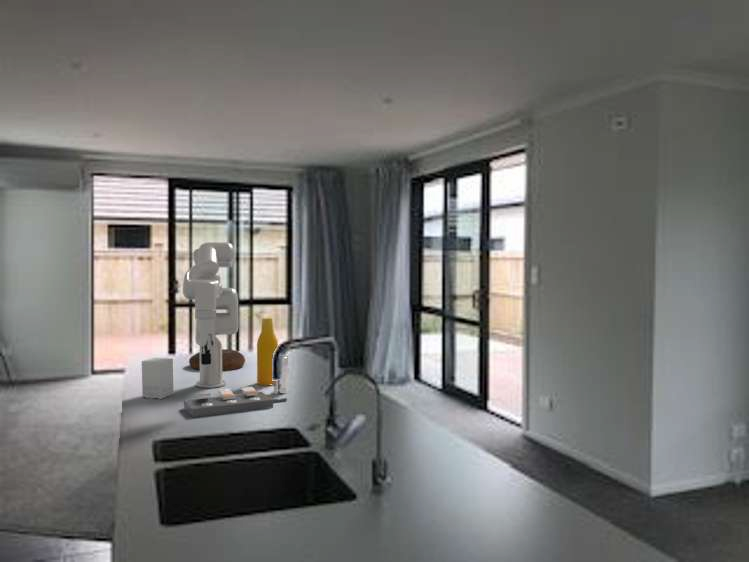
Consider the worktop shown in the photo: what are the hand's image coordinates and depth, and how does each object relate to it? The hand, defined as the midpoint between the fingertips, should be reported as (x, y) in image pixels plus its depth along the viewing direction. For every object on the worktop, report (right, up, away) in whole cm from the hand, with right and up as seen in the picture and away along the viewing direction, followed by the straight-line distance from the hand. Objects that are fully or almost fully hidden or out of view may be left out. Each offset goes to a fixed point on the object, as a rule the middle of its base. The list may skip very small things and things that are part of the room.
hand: (206, 364), depth 231 cm
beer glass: (+23, -16, +30) cm, 41 cm away
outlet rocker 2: (+14, -13, +11) cm, 22 cm away
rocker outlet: (-2, -13, +2) cm, 13 cm away
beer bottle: (+15, -15, +47) cm, 51 cm away
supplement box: (-25, -16, +22) cm, 37 cm away
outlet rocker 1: (+6, -13, +7) cm, 16 cm away
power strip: (+11, -17, +6) cm, 21 cm away
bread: (-17, -13, +86) cm, 88 cm away
